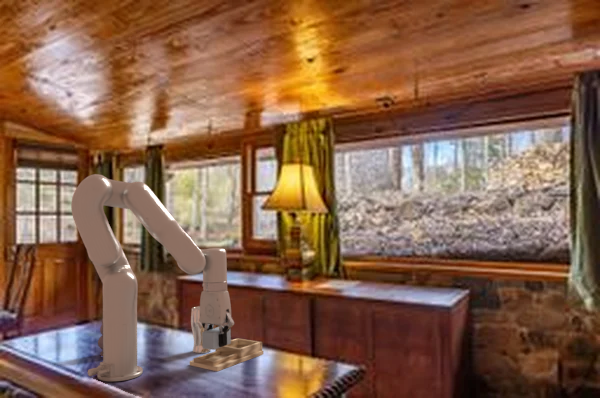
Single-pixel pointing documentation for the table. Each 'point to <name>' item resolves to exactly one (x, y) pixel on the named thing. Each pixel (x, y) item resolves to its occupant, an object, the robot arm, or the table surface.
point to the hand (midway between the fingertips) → (216, 344)
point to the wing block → (213, 338)
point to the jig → (229, 355)
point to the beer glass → (197, 331)
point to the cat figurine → (101, 339)
